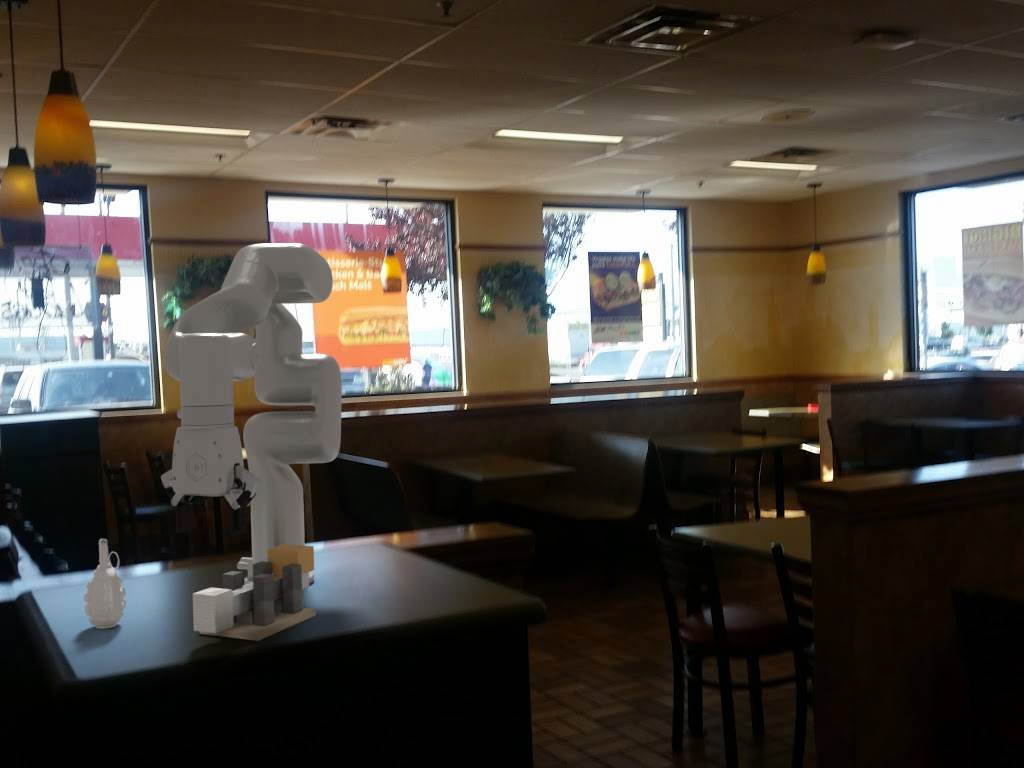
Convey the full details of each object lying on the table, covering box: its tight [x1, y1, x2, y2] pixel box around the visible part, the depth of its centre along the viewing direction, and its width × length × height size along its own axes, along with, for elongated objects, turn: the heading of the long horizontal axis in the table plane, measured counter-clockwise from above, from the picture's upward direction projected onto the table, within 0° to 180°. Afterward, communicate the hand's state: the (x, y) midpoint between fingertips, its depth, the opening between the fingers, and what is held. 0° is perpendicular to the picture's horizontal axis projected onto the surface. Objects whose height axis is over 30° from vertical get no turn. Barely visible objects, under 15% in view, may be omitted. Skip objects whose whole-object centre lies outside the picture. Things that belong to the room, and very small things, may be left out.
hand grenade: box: [83, 538, 127, 630], centre depth 164 cm, size 8×6×14 cm
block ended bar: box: [192, 572, 310, 633], centre depth 164 cm, size 4×24×6 cm, turn 156°
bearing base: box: [199, 561, 317, 642], centre depth 164 cm, size 11×15×8 cm
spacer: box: [267, 544, 315, 574], centre depth 172 cm, size 6×4×4 cm
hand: (211, 533), depth 154 cm, fingers open, 9 cm apart
